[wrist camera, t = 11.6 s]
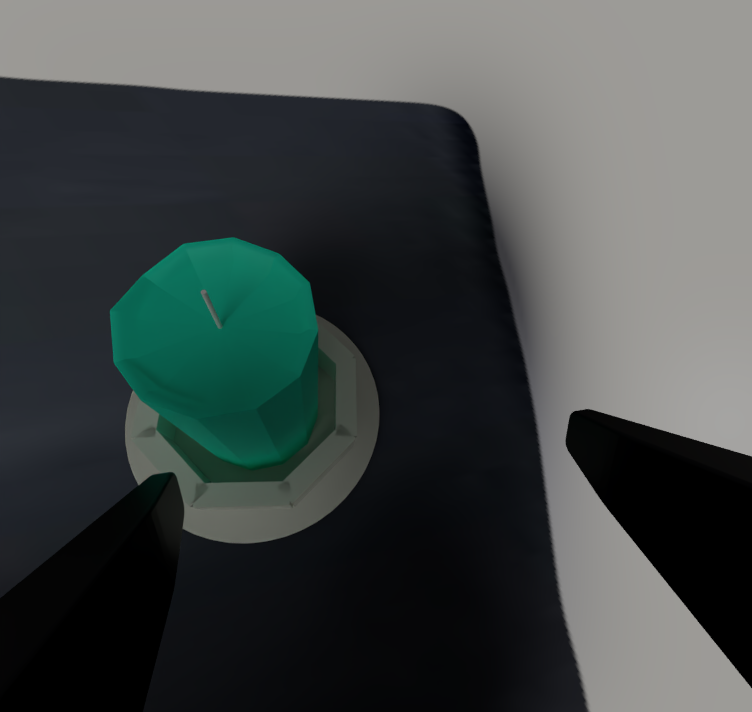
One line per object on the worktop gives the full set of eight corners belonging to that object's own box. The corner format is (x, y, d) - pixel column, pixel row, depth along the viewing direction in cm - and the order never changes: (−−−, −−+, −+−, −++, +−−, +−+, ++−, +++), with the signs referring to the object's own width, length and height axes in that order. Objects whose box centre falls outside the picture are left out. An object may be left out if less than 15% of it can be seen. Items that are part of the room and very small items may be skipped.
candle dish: (381, 537, 21) (392, 538, 18) (108, 548, 19) (66, 551, 16) (373, 314, 26) (381, 284, 23) (156, 307, 24) (132, 273, 21)
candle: (290, 344, 23) (267, 180, 12) (336, 437, 22) (356, 343, 11) (184, 387, 22) (49, 240, 11) (225, 492, 20) (114, 446, 9)
